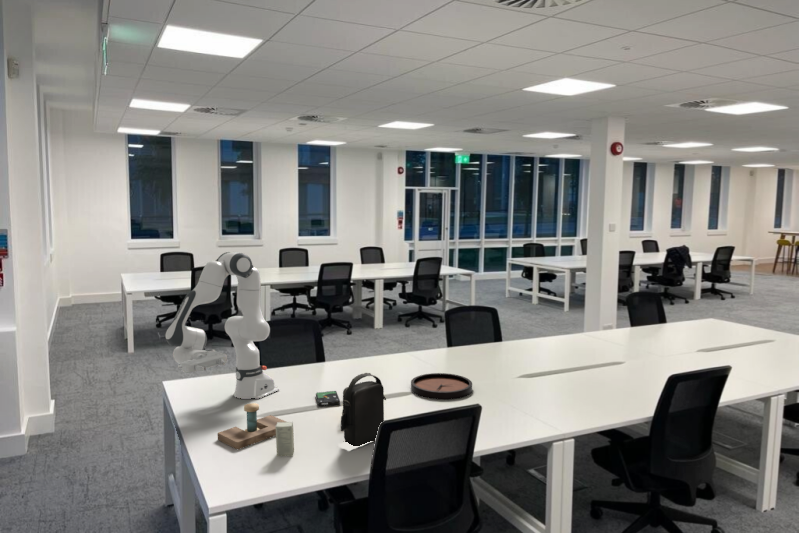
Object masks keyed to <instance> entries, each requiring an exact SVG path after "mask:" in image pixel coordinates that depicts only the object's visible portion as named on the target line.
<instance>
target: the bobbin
mask: <svg viewBox="0 0 799 533" xmlns="http://www.w3.org/2000/svg"><path fill="white" fill-rule="evenodd" d="M259 410H260V405H259V403H255V402H254V403H253V402H252V403H246V404H244V405H243V411H244V412H245V413H246V428H245V429H244V431H246V432H248V433H252V432H255V431H258V430H260V429H259V428H257V418H258V415H257V411H259Z"/></svg>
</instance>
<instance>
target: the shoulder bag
mask: <svg viewBox="0 0 799 533" xmlns="http://www.w3.org/2000/svg"><path fill="white" fill-rule="evenodd" d="M366 377H373V378H374V379H375V381H372V380H371V381H370V380H368V381H362V382H359V381H360V380H361V379H363V378H366ZM358 382H359V383H358ZM384 390H385V388H384V385H383V384H382V381H381V379H380V378H379V377H378V376H376V375H373V374H372V373H371V372H364V373H361V374H357V376H354V377H353V378H352V380H351V381H350V383H349V385H348V387H347V386H346V387H345V388H344V389H343V390H342V391H343V392H342V412H341V416H340V431H341V432H343V439H344V441H345V442H348V443H349V444H351V445H353V446H360V445H362V444H365V443H367V442H370V441H374V442H372V443H373V444H374V443H375V442H376V441H375V438H376V435H377V431H378V427H379V425H380V423H381V422H383V421H384V422H385V406H384V405H385V404H384V401H387V397H386V396H385V395H384V394H385V393H384V392H385V391H384ZM372 443H371V444H372Z"/></svg>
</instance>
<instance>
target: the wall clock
mask: <svg viewBox="0 0 799 533" xmlns="http://www.w3.org/2000/svg"><path fill="white" fill-rule="evenodd" d="M410 391H411V392H412V393H413V394H414V395H416V396H418V397H421V398H424V399H430V400H437V401H438V400H439V401H443V400H444V401H445V400H447V401H449V400H458V399H459V400H460V399H462V398H466V397H468V396H469V395H471V394H472V393H473V381H472V380H470V378H467V377H465V376H463V375H459V374H454V373H443V372H442V373H441V372H433V373H425V374H421V375H417V376H415V377H414V378H412V379H411V381H410Z"/></svg>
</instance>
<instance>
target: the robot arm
mask: <svg viewBox="0 0 799 533" xmlns="http://www.w3.org/2000/svg"><path fill="white" fill-rule="evenodd" d="M229 275H230V276H236V279H237V288H236V291H237V292H236V305H237V308H238V309H239V310H240V311H241V314H242V315H235V316H231V317H228V318H227V320H226V321H225V323H224V331H225V333H226V334H227V335H228V336H229V338H230V340H231V342H232V344H233V347H234V351H235V361H236V366H235V378H236V382H235V390H234V394H233V397H234V398H236V397H237V398H236V399H240V398H241V399H242V400H250V399H251V398H255V399H254V400H257V399H259V398H260V399H262V397H263V398H265V397H268V396H270V395H272V394H274V392H275V393H277V392H279V391H280V387H278V386H277V385H275V382H274V379H273V377H272V376H270V375H269V374H267V373H265V372H264V371H266V370H267V369H268V368H267V366H266V365H260V350H259V349H258V346H256V345H255V343H254V342H262V341H265V340H266V339H267V338H268V337H269V336H270V333H271V327H270V325H269V323H268V321H267V320H265V318H264V315H263V312H262V307H261V291H262V290H261V287H262V286H261V284H262V283H261V274H260V271H259V269H258V268H257V267H255V266H254V264H253V261H252V260H251V258H250V256H248V255H247V254H245V253H242V252H238V251H237V252H236V251H232V252H230V251H228V252H226V251H225V252H224V253H222V254H220V256H218V258H217V259H215V260H210V261H207V263H206V264H205V265H204V267H203V269H202V271H201V274H200V275H199V279H198V281H197V284H196V285H195V287H194V288H193V289H192V290H190V291H188V292H187V294H185V297H184V298H183V300H182V302H181V304H180V306H179V308H178V309H177V312H176V314H175V316H174V318H173V319H172V321H171V323H170V324H169V326H168V327H167V329H166V331H165V333H164V337H165V340H166V342H167V344H168V345H169V346H171V347H175V348H174V349H173V352H172V357H173V360H174V362H176V363H177V364H178V365H177V368H178V369H181V371H182V372H183V373H185V374H191V373H195V372H205V371H206V370H207V369H209V368H213V367H217V366H222V367H223V366H226V364H227V363H228V355H227V354H226V353H224V352H220V351H216V349H205V347H206V345H207V343H208V337H207V334H206V332H205V330H204V329H202V328H197V327H193V326H189V325H188V326H187V325H186V322H187V320H188V319H189V316H190V315H191V312H192V310H193V309H194V308H195V307H197V306H199V305H205V304H210V303H213V302H215V301H216V300H217V299H219V297H220V295H221V293H222V289H223V286H224V283H225V280H226V278H227V277H229ZM276 391H277V392H276ZM271 393H272V394H271ZM269 394H270V395H269ZM267 395H268V396H267ZM264 396H265V397H264ZM241 399H240V400H241ZM251 400H252V399H251Z"/></svg>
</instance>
